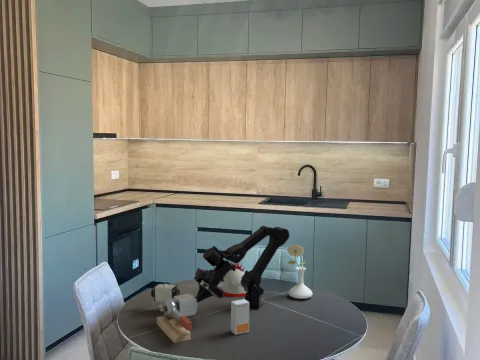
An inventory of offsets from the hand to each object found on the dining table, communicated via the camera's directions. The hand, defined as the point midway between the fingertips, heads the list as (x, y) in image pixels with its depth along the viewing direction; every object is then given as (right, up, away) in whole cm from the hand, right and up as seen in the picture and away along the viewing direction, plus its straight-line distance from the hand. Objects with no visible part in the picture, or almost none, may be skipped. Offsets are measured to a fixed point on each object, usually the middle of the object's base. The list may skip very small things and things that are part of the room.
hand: (195, 302), depth 185 cm
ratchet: (-3, -5, -11) cm, 12 cm away
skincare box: (+19, -8, -12) cm, 24 cm away
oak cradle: (-7, -8, -12) cm, 16 cm away
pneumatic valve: (-14, -6, +10) cm, 18 cm away
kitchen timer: (+17, -4, +33) cm, 37 cm away
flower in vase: (+47, -5, +27) cm, 54 cm away
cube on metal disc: (-4, -4, -2) cm, 5 cm away
